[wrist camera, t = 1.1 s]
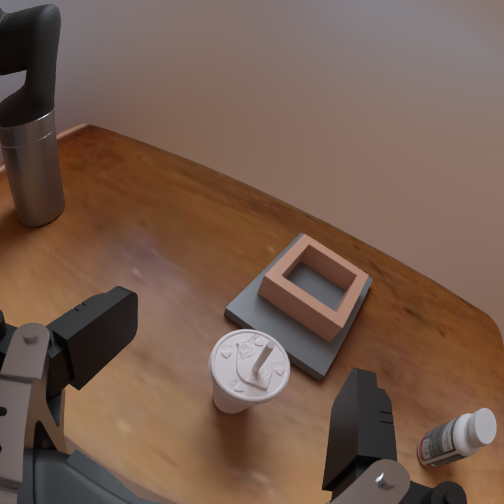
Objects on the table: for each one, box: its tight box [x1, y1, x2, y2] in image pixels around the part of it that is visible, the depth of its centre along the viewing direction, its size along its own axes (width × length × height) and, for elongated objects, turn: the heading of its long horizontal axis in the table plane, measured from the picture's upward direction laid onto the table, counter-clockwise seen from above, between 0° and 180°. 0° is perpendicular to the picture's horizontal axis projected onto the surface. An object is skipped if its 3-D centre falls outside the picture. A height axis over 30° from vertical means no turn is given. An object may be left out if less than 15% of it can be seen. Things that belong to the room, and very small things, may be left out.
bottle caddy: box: [224, 233, 373, 381], centre depth 38 cm, size 14×20×5 cm
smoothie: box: [209, 329, 290, 414], centre depth 23 cm, size 6×6×14 cm
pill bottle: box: [418, 408, 496, 468], centre depth 22 cm, size 6×6×10 cm
